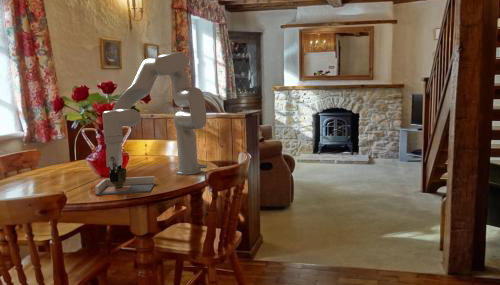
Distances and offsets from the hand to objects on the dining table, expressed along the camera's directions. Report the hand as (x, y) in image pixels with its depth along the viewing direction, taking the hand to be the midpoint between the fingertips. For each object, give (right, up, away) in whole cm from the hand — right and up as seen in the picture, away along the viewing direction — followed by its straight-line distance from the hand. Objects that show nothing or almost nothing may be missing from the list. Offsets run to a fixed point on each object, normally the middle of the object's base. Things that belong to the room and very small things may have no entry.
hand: (116, 179), depth 185 cm
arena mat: (+4, -4, +1) cm, 6 cm away
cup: (0, -4, +1) cm, 4 cm away
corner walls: (+4, -4, +1) cm, 6 cm away
